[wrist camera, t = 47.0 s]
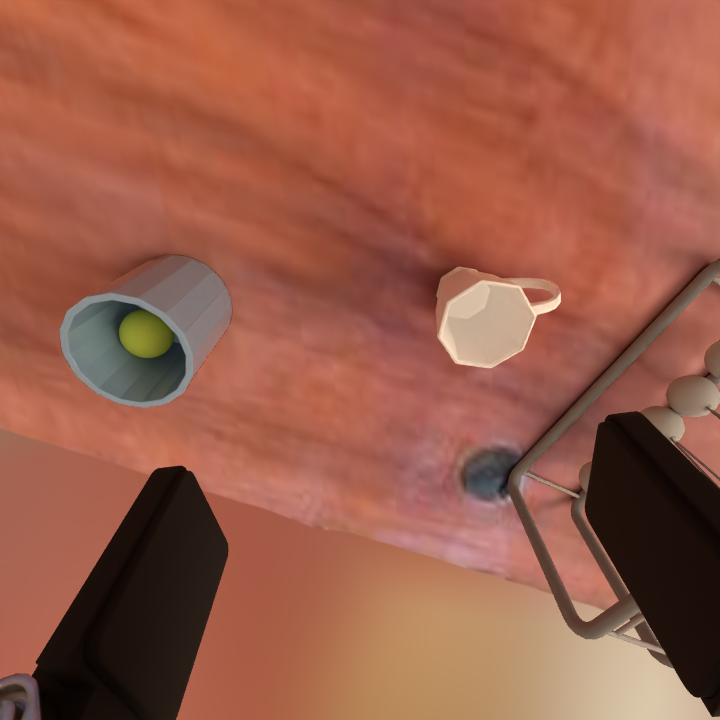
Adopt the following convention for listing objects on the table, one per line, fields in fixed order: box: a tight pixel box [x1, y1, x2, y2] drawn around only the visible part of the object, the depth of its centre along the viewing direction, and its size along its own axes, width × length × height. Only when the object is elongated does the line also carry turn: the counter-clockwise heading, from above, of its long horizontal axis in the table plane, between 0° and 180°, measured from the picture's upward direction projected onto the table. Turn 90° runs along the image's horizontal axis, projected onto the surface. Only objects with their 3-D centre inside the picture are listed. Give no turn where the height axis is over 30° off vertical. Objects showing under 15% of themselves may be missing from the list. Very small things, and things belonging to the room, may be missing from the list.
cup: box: [436, 266, 561, 368], centre depth 32 cm, size 7×10×8 cm
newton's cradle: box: [508, 259, 720, 668], centre depth 34 cm, size 30×10×18 cm, turn 152°
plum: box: [119, 309, 175, 358], centre depth 33 cm, size 4×4×4 cm
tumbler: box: [59, 255, 232, 408], centre depth 32 cm, size 9×9×10 cm
